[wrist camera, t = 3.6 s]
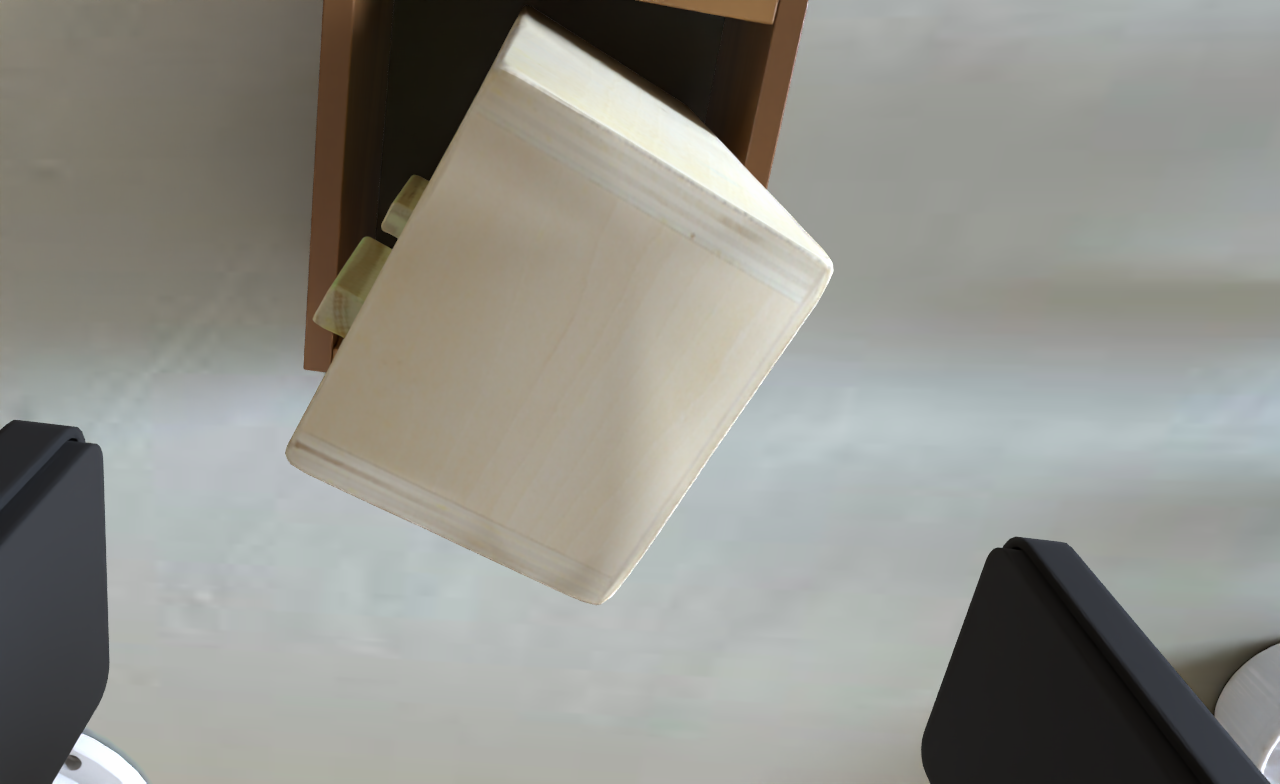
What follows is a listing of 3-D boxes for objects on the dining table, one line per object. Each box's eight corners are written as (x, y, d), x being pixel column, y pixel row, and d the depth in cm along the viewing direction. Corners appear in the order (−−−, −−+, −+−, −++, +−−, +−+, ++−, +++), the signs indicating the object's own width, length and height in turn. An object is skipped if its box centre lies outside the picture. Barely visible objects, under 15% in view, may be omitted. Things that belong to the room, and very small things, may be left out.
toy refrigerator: (506, -19, 34) (457, 32, 15) (691, 99, 36) (853, 277, 17) (397, 186, 37) (234, 455, 18) (576, 287, 39) (605, 627, 20)
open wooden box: (349, 287, 38) (302, 370, 31) (375, -85, 33) (327, -92, 26) (683, 333, 40) (715, 422, 33) (754, -13, 35) (809, 0, 28)
